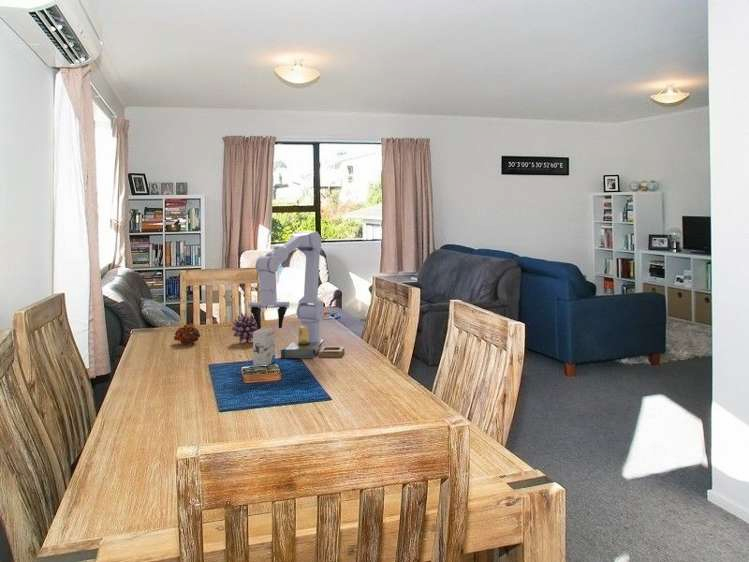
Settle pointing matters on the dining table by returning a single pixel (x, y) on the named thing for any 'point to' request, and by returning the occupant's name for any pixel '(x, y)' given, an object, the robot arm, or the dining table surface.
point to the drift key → (283, 352)
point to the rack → (331, 352)
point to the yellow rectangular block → (303, 335)
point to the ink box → (263, 346)
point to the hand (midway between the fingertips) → (269, 327)
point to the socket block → (301, 350)
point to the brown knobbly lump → (187, 334)
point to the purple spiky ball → (245, 327)
